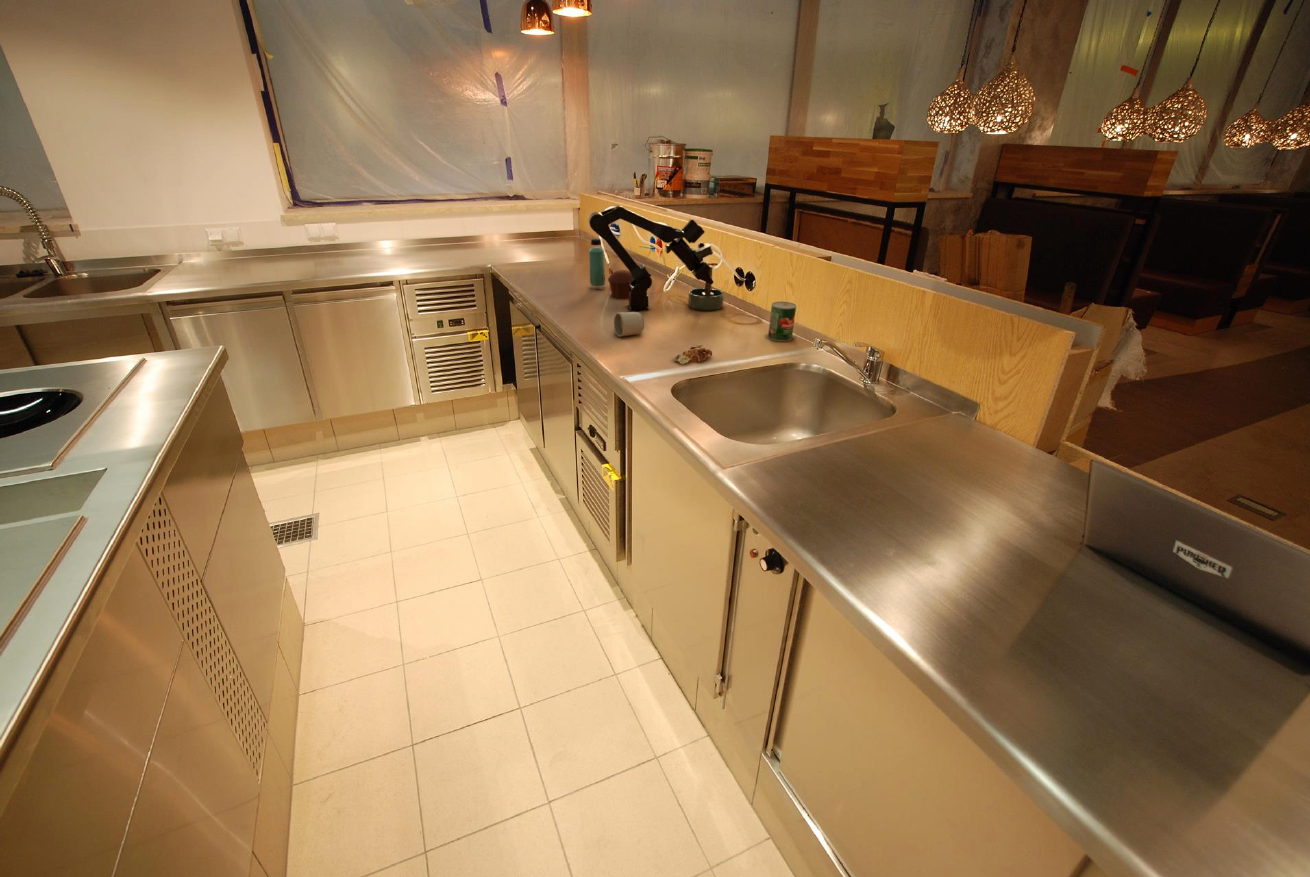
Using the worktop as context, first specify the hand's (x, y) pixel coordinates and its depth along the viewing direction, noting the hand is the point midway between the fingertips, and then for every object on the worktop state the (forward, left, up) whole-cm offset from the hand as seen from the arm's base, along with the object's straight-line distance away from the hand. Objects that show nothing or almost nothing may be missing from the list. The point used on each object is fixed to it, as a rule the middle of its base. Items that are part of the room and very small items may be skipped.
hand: (711, 282), depth 217 cm
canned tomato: (+8, -41, -9) cm, 43 cm away
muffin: (-29, +23, -9) cm, 38 cm away
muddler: (-1, 0, -7) cm, 7 cm away
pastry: (-27, -52, -9) cm, 59 cm away
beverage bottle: (-36, +38, -9) cm, 53 cm away
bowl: (-2, 0, -9) cm, 9 cm away
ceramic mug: (-40, -24, -9) cm, 48 cm away
